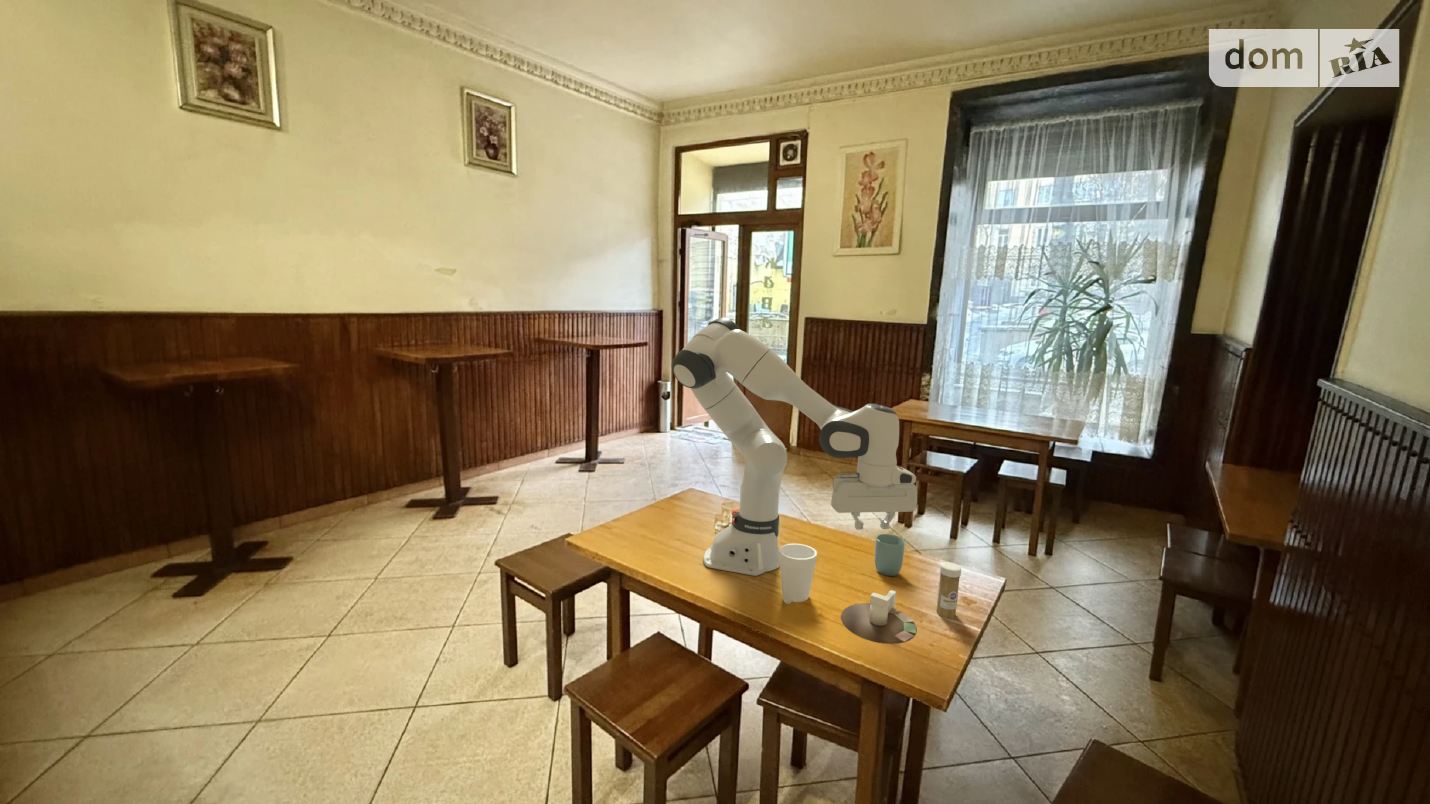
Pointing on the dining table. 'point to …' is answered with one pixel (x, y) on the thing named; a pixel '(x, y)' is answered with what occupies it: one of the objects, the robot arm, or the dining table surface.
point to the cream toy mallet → (881, 607)
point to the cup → (889, 554)
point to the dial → (891, 633)
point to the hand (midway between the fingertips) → (871, 528)
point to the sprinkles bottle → (948, 590)
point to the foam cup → (796, 571)
